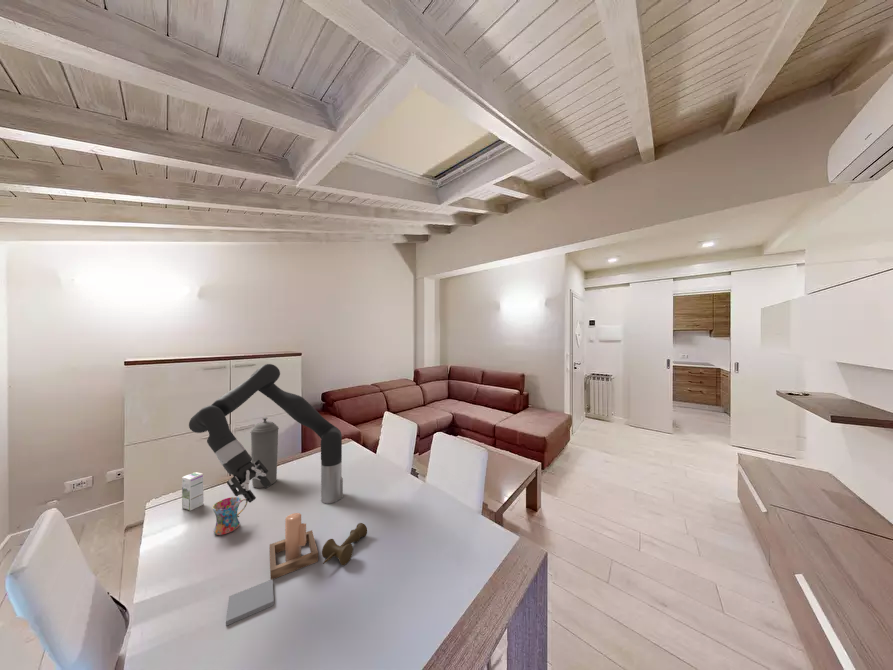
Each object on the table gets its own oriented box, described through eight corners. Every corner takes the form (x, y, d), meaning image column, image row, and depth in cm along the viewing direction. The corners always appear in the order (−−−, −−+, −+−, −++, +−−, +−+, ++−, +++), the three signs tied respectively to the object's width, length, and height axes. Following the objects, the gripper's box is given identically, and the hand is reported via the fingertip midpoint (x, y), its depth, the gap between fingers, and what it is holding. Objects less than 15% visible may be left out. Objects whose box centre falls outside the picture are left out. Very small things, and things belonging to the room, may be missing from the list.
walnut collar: (312, 537, 111) (312, 530, 111) (318, 561, 99) (318, 552, 99) (269, 552, 103) (269, 544, 103) (270, 580, 91) (270, 570, 91)
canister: (272, 475, 162) (272, 413, 162) (282, 481, 154) (283, 416, 155) (246, 484, 152) (246, 418, 152) (256, 492, 144) (256, 422, 144)
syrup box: (204, 504, 134) (204, 473, 134) (189, 511, 128) (189, 478, 128) (196, 502, 136) (196, 471, 136) (181, 509, 130) (181, 476, 130)
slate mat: (272, 582, 90) (272, 579, 90) (273, 605, 83) (273, 600, 83) (229, 600, 84) (229, 596, 84) (225, 625, 77) (225, 621, 77)
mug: (217, 540, 109) (217, 512, 110) (208, 532, 114) (208, 505, 115) (252, 523, 120) (252, 497, 120) (242, 516, 125) (242, 491, 125)
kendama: (373, 539, 111) (334, 577, 92) (353, 533, 115) (312, 568, 96) (373, 523, 111) (334, 558, 93) (353, 518, 115) (312, 550, 97)
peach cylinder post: (282, 562, 99) (282, 521, 99) (290, 551, 104) (290, 512, 104) (301, 563, 98) (301, 522, 99) (308, 552, 103) (309, 513, 104)
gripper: (239, 454, 108) (265, 488, 108) (208, 472, 94) (237, 512, 94) (255, 442, 108) (281, 477, 108) (227, 459, 94) (256, 499, 94)
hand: (261, 493), depth 101 cm, fingers open, 8 cm apart
